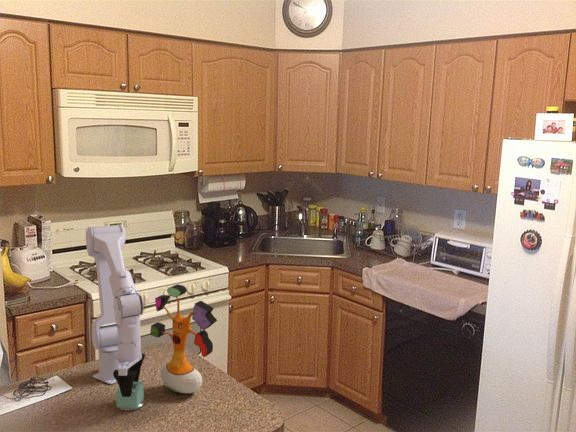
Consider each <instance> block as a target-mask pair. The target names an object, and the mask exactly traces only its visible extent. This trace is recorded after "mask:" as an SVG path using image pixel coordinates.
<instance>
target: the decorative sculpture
mask: <svg viewBox="0 0 576 432" xmlns="http://www.w3.org/2000/svg"><path fill="white" fill-rule="evenodd" d="M187 289H188V288H186V286H184V285H182V284H174V285H173V286H169V287H168V288H167V289H166V292H167V293H168V295H167V294H162V295H159V296H157V297H154V298H155V309H156V312H160V311H162V310H164V309H165V311H166V313H167V317H169V318H170V320H171V321H172V333H169V332H166V325H165V324H164V323H161V322H158V321H157V322H155V323H153V324H151V325H150V333H149V335H151V336H153V337H154V338H161V337H162V336H164V335H167V336H169V337H170V339H171V341H172V344H173V353H172V357H171V360H170V361H169V362H167V363H165V364H163V365H162V367H161V369H160V378H161V380H162V383H163V384H164V385H165V387H167V388H168V389H170V390H171V391H174V392H176V393H180V394H192V393H193V394H194V393H195V392H197V391H198V390H200V388H201V386H202V384H203V377H202V375H201V373H200V371H198V370H197V369H196V368H195V367H194V366H192V365H191V364H190V362H189V361H188V360H187V358H186V353H185V349H186V346H187V339H188V335H189V334H192V335H194V343H193V344H194V345H195V346H197V347H198V348H199V349H200V353H201V357H204V358H205V357H208V356H209V355H210V354H211V353H212V352H213V351H214V344H213V342H212V340H211V339H210V338H209V334H208V332H207V331H206V329H207V330H208V328H210V327H211V326H212V325H214V324H215V323H216V322H217V321H218V319H217V318H216V317H215V316H214V315H213V313H212V312H213V310H214V309H215V308H214V307H213V306H211V305H209V304H207V303H206V302H204V301H203V300H199V301H197V302H195V303H194V306H193V311H191V312H190V313H189V314H188V315H187V316H186V317H185V316H183V315H182V314H181V313H180V299H179V298H178V297H180V296H183V295H185V294H186V293H187ZM171 297H173V298H176V301H177V304H176V305H177V307H176V310H177V312H176V315H175V316H174V317H173V316H172V315H171V313H170V312H169V310H168V309H167V308H166V305H167V303H168V301H169V299H170V298H171ZM191 319H192V320H193V321H194V322H195V324H197V326H199V328H200V329H202V330H201V331H199V332H195V331H193V329H192V327H191V324H192V323H191V322H192V321H191Z"/></svg>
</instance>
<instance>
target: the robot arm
mask: <svg viewBox="0 0 576 432" xmlns="http://www.w3.org/2000/svg"><path fill="white" fill-rule="evenodd" d="M85 242H86V243H85V244H86V252H87V255H88V256H89V257H92V258H93V259H94V262H95V267H96V268H95V269H96V275H97V277H96V278H97V286H98V297H99V307H100V314H99V316H98V317H96V318H95V319H94V320H93V322H92V324H91V342H92V345H93V348H94V349H96V350H98V372H97V373H95V374H93V375H92V378H94V379H96V380H99V381H101V382H104V383H106V384H108V385H112V384H115V383H117V385H118V388H119V387H120V391H121V394H122V397H131V394H132V388H133V382H139V379H140V374H141V371H142V370H141V368H142V365H143V362H144V360H145V357H146V354H145V353H143V352H142V346H141V345H142V342H141V340H142V339H141V337H142V336H141V335H142V334H141V330H142V329H141V316H142V315H143V314H144V301H143V297H142V295H141V293H140V292H139V290H138V289H136V287H135V283H134V280H133V276H132V273H131V272H130V271H129V270H128V269H126V268H125V267H126V266H125V262H124V257H123V252H122V250H123V249H124V246H125V243H126V230H125V227H124V226H123V225H122V224H121V223H120V224H115V225H102V226H88V227H87V228H86V230H85Z"/></svg>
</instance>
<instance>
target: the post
mask: <svg viewBox="0 0 576 432" xmlns="http://www.w3.org/2000/svg"><path fill="white" fill-rule="evenodd" d="M132 390H134V387H133V388H132ZM145 403H146V402H145V398H143V400H142V401H141V403H140V405H139V406H138V408H124V407H117V406H116V408H117V409H118V410H120V411H121V412H127V413H128V412H135V411H139V410H141V409H142V408H143V407H144V406H145Z"/></svg>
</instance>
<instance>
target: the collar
mask: <svg viewBox="0 0 576 432" xmlns="http://www.w3.org/2000/svg"><path fill="white" fill-rule="evenodd" d="M144 385H145V384H144V381H138V382H133V387H134V390H132V394H131V397H122V394H121V391H120V387H119V386H118V387H117V389H116V391H115V399H116V400H115V401H116V403H115V406H116V408H117V407H124V408H138V406H139V405H140V403H141V401H142V400H143V399H145V394H144V393H145V387H144Z"/></svg>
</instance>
